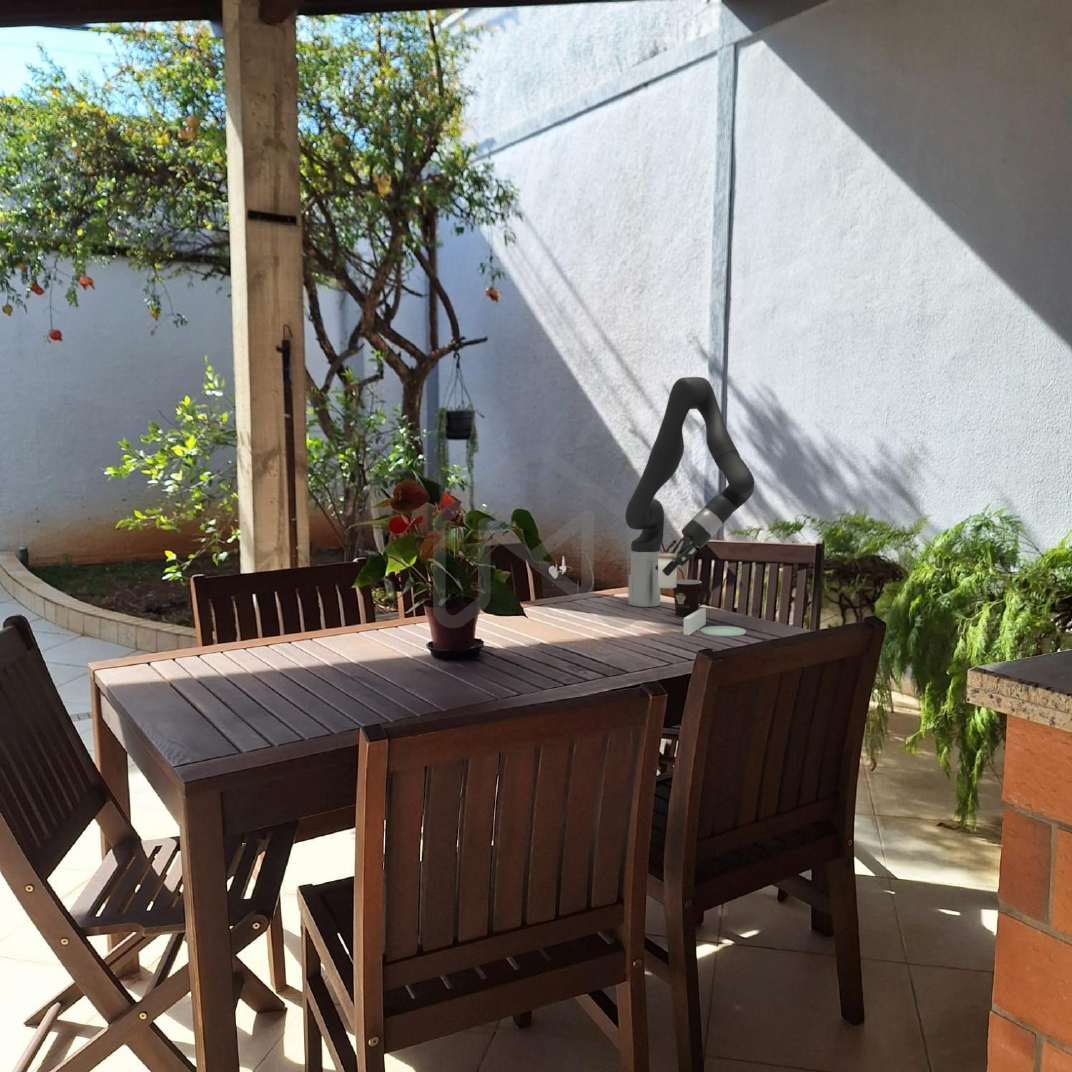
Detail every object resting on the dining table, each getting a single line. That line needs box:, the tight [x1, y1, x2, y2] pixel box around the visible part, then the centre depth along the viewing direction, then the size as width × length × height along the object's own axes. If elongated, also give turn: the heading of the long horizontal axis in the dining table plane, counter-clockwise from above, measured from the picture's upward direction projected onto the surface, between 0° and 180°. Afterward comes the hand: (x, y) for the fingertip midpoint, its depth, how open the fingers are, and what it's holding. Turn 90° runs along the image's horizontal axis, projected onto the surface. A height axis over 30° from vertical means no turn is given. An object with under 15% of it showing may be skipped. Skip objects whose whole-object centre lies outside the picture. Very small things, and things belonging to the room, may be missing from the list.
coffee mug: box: [672, 579, 712, 618], centre depth 285 cm, size 12×9×10 cm
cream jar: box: [658, 552, 678, 589], centre depth 268 cm, size 6×6×9 cm
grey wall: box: [683, 607, 707, 636], centre depth 266 cm, size 2×16×4 cm, turn 154°
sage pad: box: [700, 625, 747, 637], centre depth 263 cm, size 12×12×1 cm
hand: (661, 571), depth 268 cm, fingers closed on cream jar, 5 cm apart
